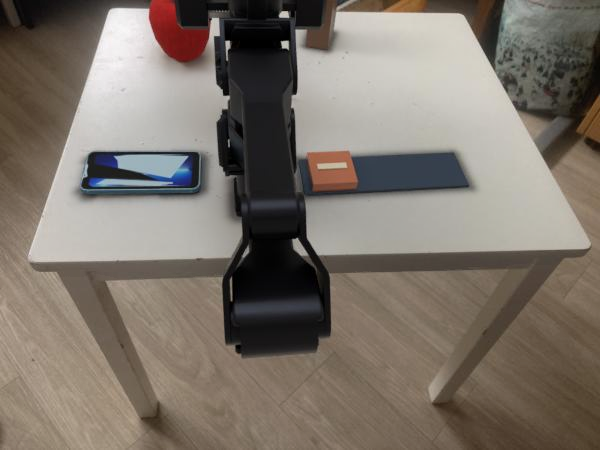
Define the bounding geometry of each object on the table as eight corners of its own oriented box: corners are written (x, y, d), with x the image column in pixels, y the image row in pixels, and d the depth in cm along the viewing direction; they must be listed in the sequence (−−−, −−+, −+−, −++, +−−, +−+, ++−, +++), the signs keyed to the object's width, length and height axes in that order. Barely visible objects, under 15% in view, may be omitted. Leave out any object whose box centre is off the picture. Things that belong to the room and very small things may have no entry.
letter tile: (312, 191, 64) (313, 183, 63) (306, 160, 68) (306, 151, 67) (356, 189, 65) (358, 180, 64) (347, 158, 69) (349, 149, 67)
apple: (225, 59, 83) (221, -4, 74) (177, 79, 78) (167, 14, 70) (192, 34, 87) (185, -29, 78) (144, 52, 82) (131, -13, 74)
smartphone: (199, 189, 63) (77, 190, 61) (200, 194, 63) (79, 196, 61) (201, 150, 67) (88, 150, 65) (201, 155, 68) (89, 155, 66)
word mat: (304, 196, 64) (305, 194, 64) (298, 161, 68) (298, 159, 68) (468, 186, 67) (469, 184, 67) (453, 154, 71) (454, 152, 71)
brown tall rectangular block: (327, 50, 86) (335, -19, 77) (305, 46, 87) (311, -24, 77) (333, 33, 90) (342, -35, 81) (312, 29, 90) (318, -39, 81)
